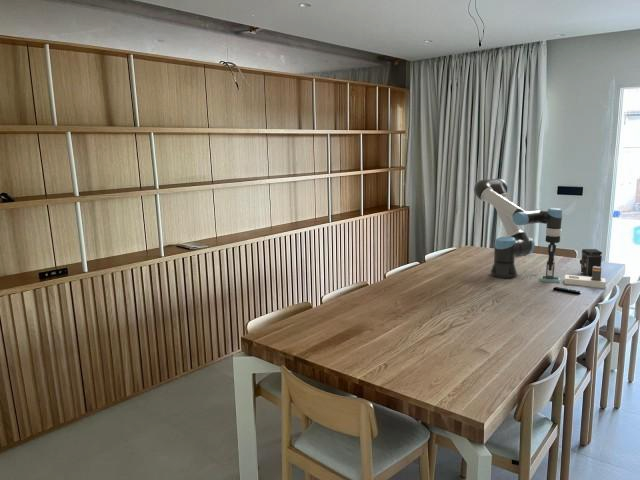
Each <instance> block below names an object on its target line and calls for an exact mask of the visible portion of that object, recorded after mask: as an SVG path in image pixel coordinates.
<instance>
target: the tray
mask: <svg viewBox="0 0 640 480" xmlns="http://www.w3.org/2000/svg"><path fill="white" fill-rule="evenodd" d="M539 279H540V282H546V283H547V282H548V283H556V284H558V283H559V284H560V282H561V277H560V276H554V278H553V279H546V275H541V276H540V278H539Z"/></svg>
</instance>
